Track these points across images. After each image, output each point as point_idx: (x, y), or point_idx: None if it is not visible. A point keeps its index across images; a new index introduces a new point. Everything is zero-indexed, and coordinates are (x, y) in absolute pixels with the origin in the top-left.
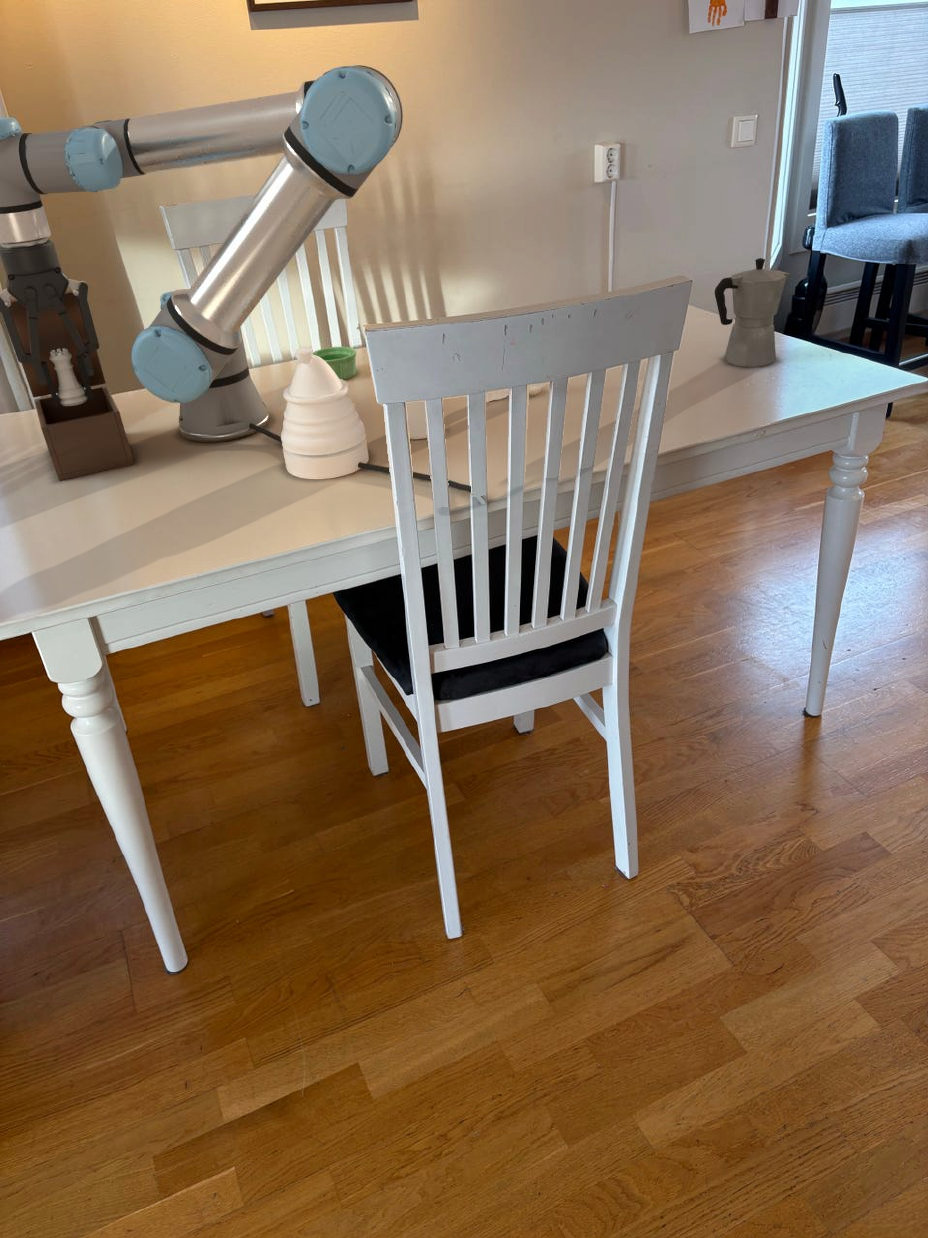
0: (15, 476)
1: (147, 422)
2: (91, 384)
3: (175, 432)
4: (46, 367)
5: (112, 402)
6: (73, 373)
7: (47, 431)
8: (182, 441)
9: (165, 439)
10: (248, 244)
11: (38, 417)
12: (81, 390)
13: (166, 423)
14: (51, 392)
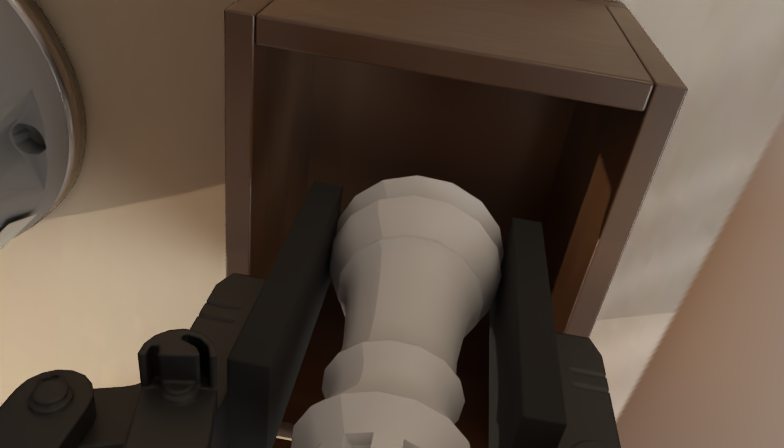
0: (723, 187)
1: (187, 317)
2: (280, 443)
3: (108, 164)
4: (533, 397)
5: (236, 193)
6: (351, 327)
7: (653, 72)
8: (90, 53)
9: (150, 125)
10: None
11: (617, 264)
12: (358, 229)
13: (129, 266)
14: (542, 272)
